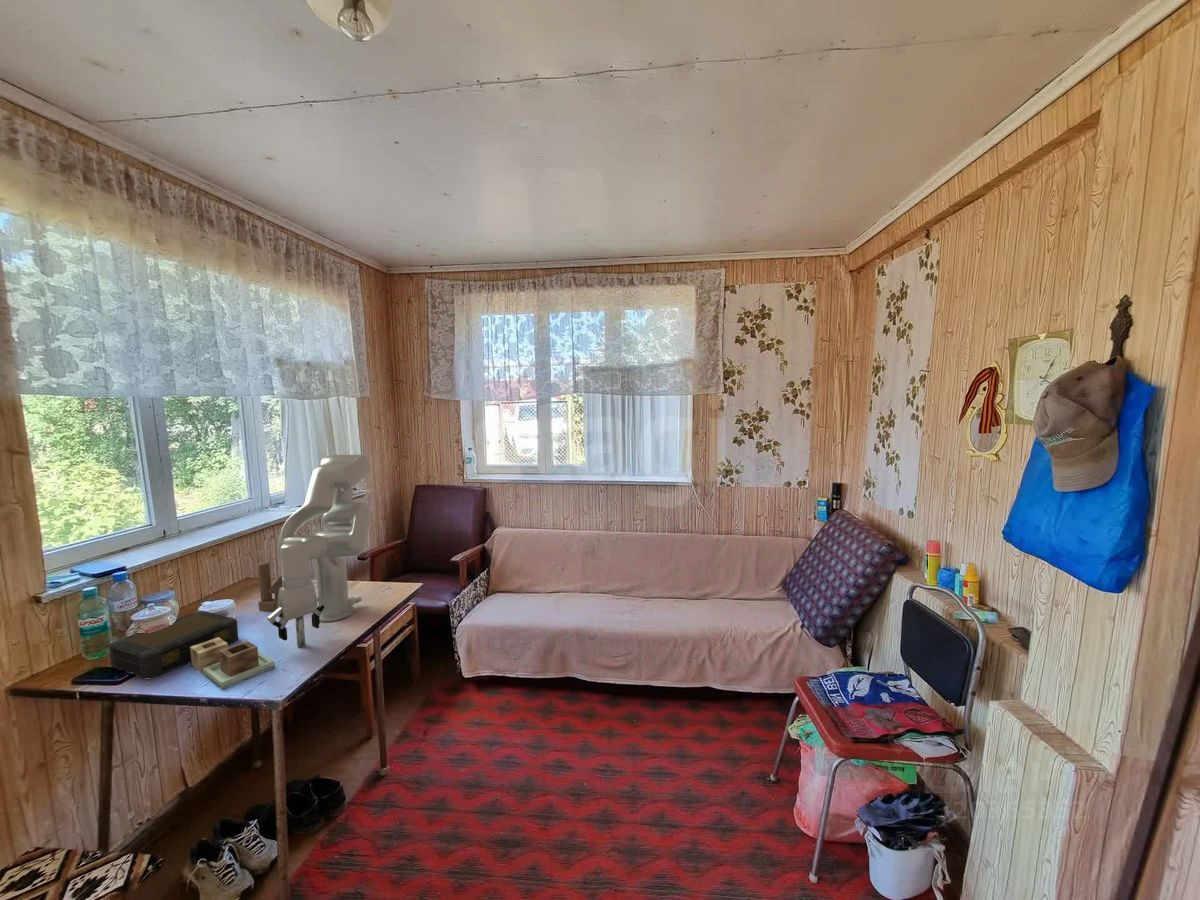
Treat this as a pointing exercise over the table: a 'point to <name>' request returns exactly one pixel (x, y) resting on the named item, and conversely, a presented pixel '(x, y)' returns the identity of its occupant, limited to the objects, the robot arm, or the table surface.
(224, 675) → the tray
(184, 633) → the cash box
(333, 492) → the robot arm
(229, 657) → the walnut block
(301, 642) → the pin gauge
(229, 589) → the table surface
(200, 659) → the oak block
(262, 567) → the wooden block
